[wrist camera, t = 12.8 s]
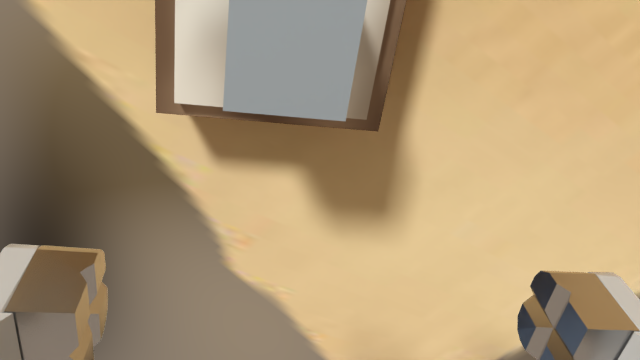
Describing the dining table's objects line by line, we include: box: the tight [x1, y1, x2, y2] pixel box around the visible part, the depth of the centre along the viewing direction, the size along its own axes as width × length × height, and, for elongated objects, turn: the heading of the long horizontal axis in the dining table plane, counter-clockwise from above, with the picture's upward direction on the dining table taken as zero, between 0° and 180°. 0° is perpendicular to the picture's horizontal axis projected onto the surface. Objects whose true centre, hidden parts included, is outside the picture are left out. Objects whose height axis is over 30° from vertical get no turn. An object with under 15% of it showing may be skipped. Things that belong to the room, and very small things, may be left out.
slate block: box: [223, 0, 367, 121], centre depth 24 cm, size 5×5×6 cm
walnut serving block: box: [155, 0, 406, 131], centre depth 29 cm, size 12×12×6 cm
